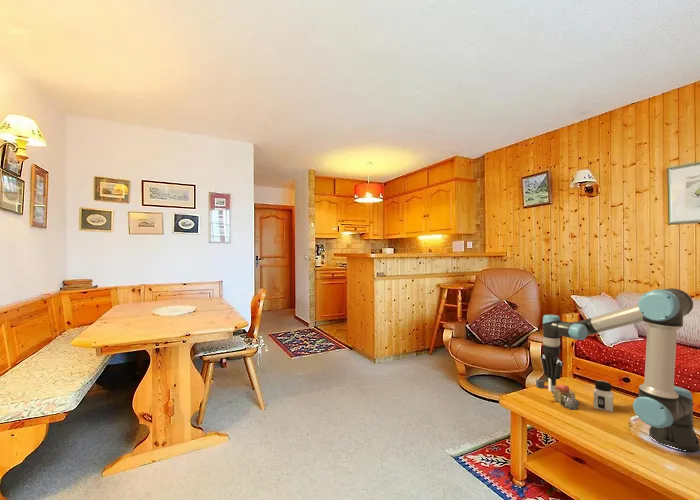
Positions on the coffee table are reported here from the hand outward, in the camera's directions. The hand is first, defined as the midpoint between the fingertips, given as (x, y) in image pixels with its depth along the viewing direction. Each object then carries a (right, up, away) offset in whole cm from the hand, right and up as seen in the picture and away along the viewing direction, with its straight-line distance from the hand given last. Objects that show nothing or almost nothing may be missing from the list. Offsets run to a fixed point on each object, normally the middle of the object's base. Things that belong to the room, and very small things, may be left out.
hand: (551, 390), depth 171 cm
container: (+26, -8, -1) cm, 27 cm away
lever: (+4, -1, +5) cm, 7 cm away
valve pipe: (+9, -8, +4) cm, 13 cm away
